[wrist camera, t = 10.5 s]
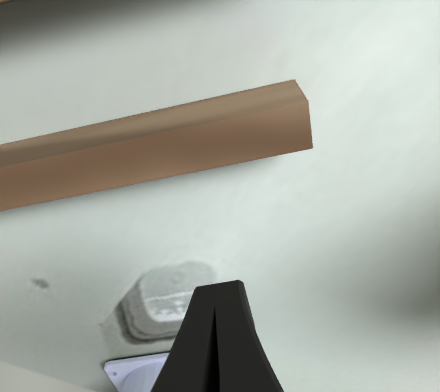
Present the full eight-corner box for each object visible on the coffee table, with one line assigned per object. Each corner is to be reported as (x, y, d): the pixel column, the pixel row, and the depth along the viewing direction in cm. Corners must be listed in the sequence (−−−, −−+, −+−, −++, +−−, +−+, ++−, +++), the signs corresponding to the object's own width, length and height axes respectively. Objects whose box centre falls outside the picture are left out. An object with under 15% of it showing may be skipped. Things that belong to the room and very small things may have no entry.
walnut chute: (299, 121, 18) (312, 148, 15) (-109, 206, 20) (-155, 241, 18) (268, -142, 13) (281, -167, 10) (-268, 15, 15) (-365, 26, 13)
